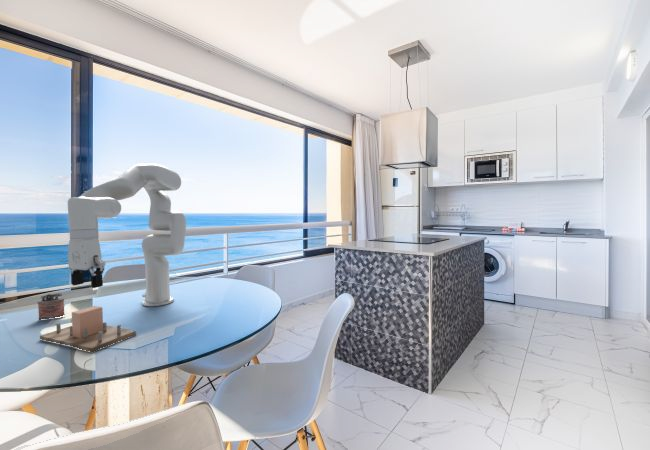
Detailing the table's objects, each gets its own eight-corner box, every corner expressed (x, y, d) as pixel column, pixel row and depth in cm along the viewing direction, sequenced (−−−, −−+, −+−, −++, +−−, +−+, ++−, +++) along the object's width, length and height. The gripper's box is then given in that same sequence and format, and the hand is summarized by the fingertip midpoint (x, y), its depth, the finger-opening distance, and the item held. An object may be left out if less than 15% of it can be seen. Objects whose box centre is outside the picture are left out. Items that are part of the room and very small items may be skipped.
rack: (40, 340, 100) (39, 326, 100) (86, 325, 114) (85, 313, 113) (91, 353, 91) (91, 338, 91) (135, 335, 104) (135, 322, 104)
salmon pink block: (72, 336, 100) (71, 312, 99) (95, 328, 106) (94, 306, 106) (80, 338, 98) (79, 313, 98) (103, 330, 105) (102, 307, 104)
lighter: (37, 321, 118) (35, 296, 117) (40, 318, 121) (38, 293, 120) (63, 318, 121) (62, 293, 121) (66, 315, 124) (65, 291, 124)
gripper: (54, 235, 100) (58, 286, 102) (89, 236, 94) (92, 291, 95) (80, 233, 107) (83, 281, 108) (113, 234, 101) (116, 285, 102)
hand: (87, 285), depth 102 cm, fingers open, 9 cm apart
